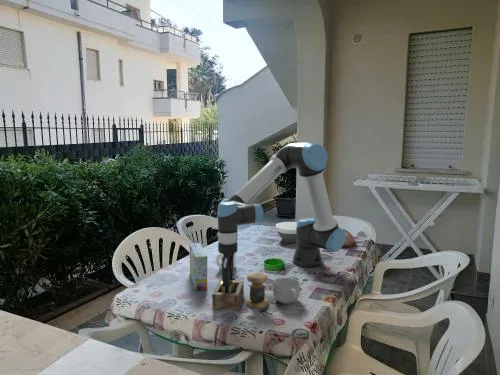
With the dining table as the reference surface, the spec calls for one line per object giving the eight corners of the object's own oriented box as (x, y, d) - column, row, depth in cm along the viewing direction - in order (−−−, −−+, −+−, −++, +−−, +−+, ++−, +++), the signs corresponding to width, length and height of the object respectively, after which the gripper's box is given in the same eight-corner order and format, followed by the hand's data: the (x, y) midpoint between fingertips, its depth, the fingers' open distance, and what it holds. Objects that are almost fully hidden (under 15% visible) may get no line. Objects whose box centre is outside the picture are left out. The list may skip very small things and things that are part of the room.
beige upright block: (234, 297, 146) (234, 276, 145) (233, 301, 144) (233, 279, 142) (222, 297, 147) (222, 276, 146) (220, 300, 144) (220, 278, 143)
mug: (222, 273, 175) (222, 253, 173) (210, 269, 180) (210, 249, 179) (239, 266, 184) (239, 247, 182) (227, 263, 189) (227, 243, 188)
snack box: (208, 289, 157) (207, 256, 155) (195, 291, 155) (194, 257, 153) (201, 272, 177) (200, 242, 175) (189, 273, 176) (188, 243, 173)
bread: (328, 239, 234) (328, 224, 233) (359, 244, 224) (359, 228, 223) (318, 244, 220) (319, 228, 219) (351, 249, 210) (352, 232, 209)
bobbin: (269, 298, 148) (269, 272, 146) (267, 309, 139) (267, 281, 137) (247, 297, 149) (247, 271, 147) (244, 307, 140) (244, 280, 139)
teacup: (271, 295, 151) (271, 276, 150) (297, 294, 152) (297, 275, 151) (276, 311, 138) (276, 291, 136) (305, 310, 138) (305, 290, 137)
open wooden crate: (243, 294, 152) (243, 280, 151) (238, 310, 138) (238, 295, 137) (220, 293, 153) (219, 279, 152) (212, 309, 139) (212, 294, 138)
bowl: (309, 245, 219) (309, 229, 218) (276, 245, 219) (276, 229, 218) (304, 236, 238) (304, 221, 237) (274, 236, 239) (274, 221, 237)
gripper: (222, 235, 151) (223, 289, 154) (213, 248, 134) (214, 308, 137) (240, 236, 150) (240, 290, 153) (233, 248, 133) (234, 309, 136)
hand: (228, 298), depth 145 cm, fingers open, 4 cm apart
